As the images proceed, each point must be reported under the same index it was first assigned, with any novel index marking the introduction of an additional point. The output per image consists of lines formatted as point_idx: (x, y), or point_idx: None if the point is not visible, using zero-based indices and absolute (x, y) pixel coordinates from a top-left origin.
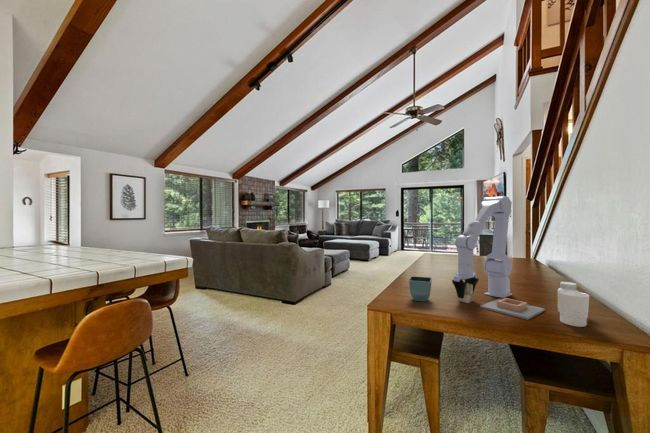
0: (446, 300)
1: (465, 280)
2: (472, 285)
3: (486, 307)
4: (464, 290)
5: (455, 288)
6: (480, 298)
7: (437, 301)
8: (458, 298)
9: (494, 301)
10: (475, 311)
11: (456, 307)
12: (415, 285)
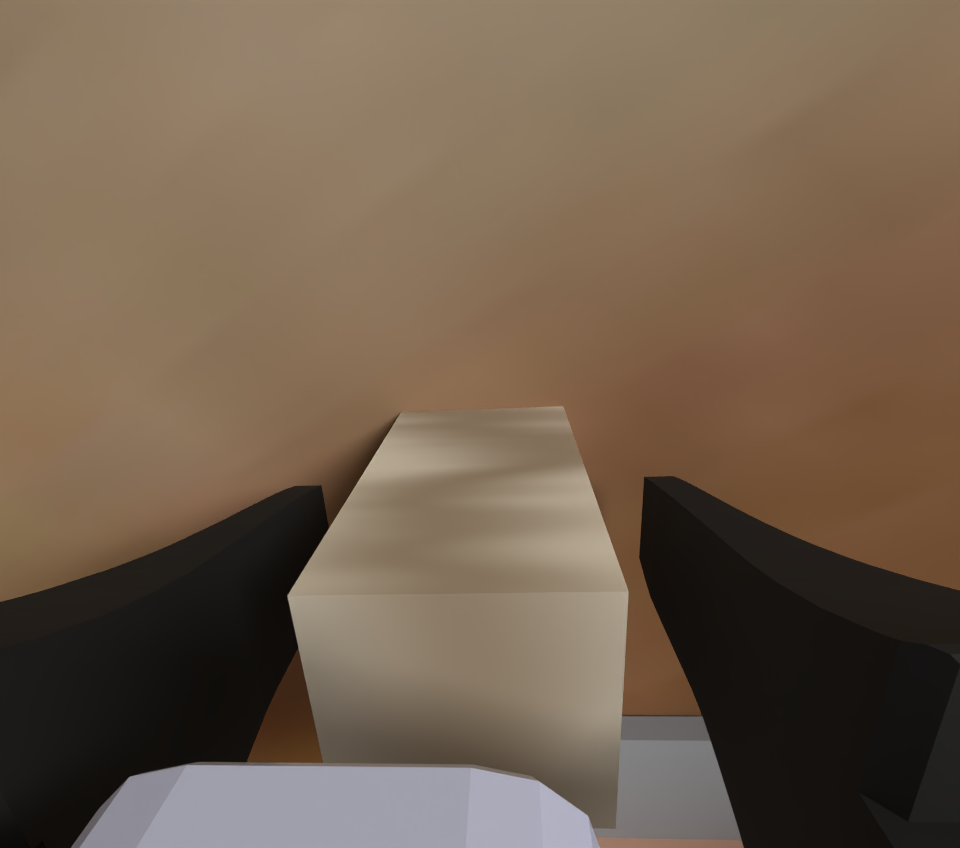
0: (226, 293)
1: (815, 639)
2: (596, 802)
3: None
4: (259, 707)
5: (140, 560)
6: (819, 542)
7: (31, 238)
8: (393, 427)
9: (705, 760)
10: None
11: (106, 565)
12: None
